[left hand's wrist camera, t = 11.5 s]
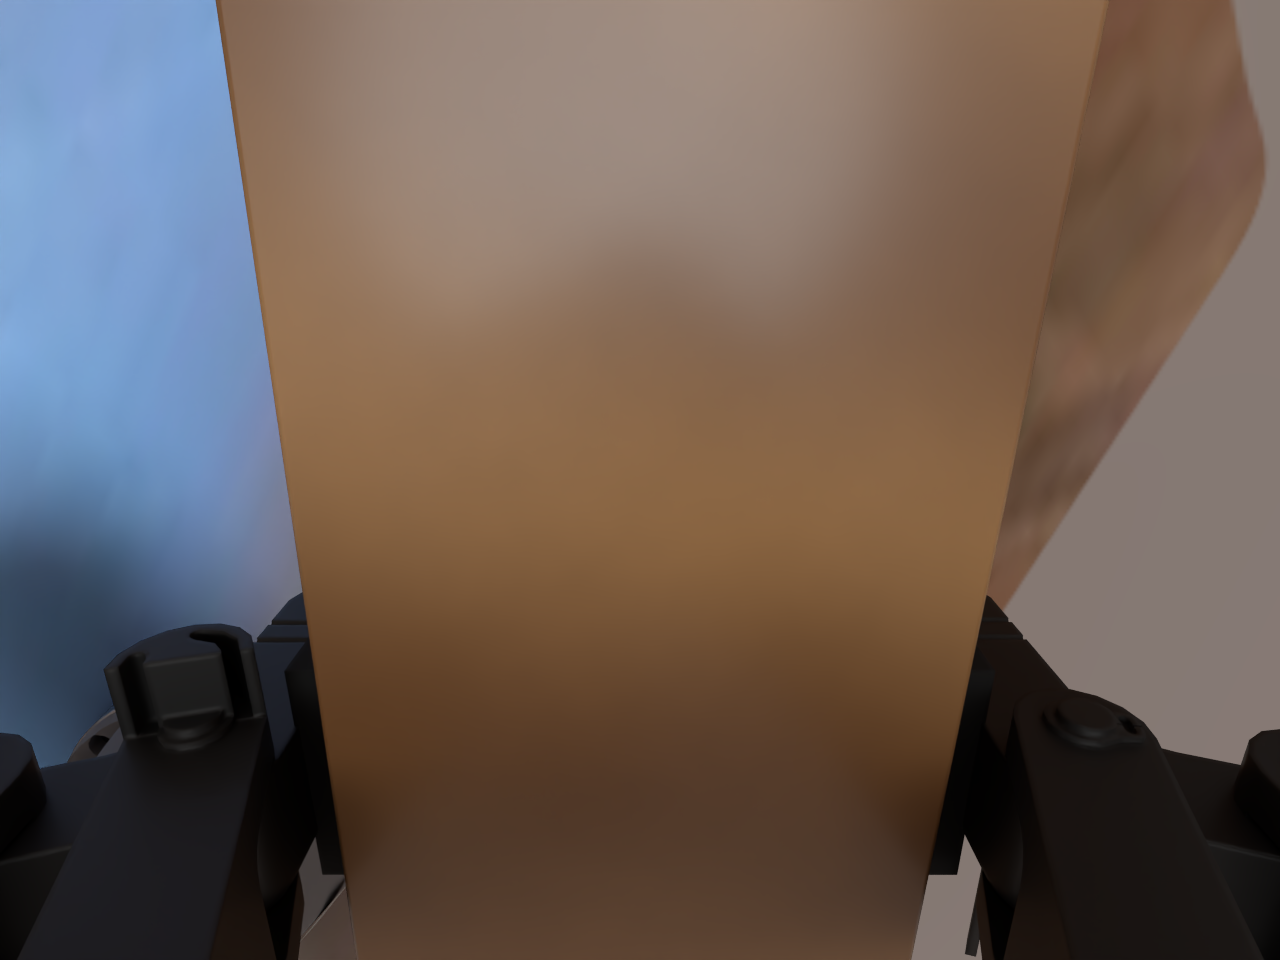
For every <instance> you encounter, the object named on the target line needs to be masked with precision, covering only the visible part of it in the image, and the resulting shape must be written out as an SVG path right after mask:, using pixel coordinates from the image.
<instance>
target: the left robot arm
mask: <svg viewBox="0 0 1280 960" xmlns="http://www.w3.org/2000/svg"><path fill="white" fill-rule="evenodd" d="M104 673H105V676H106V680H107V683H108V687H109V690H110V694H111V698H112V701H113V706H112V707H111V708H110V709H109V710H108V711H107V712H106V713H105V714H104V715H103V716H102V717H101V718H100V719H99V720H98V721H97V722H96V723H95V724H94V725H93V726H92V727H91V728H90V729H89V730H88V731H87V732H86V733H85V734H84V736H83V737H82V738H81V739H80V741H79V742H78V744H77V745H76V747H75V748H74V750H73V753H72V754H71V756H70V758H69V760H68V762H67V763H65V764H60V765H55V766H50V767H45V768H39V765H38V762H37V759H36V756H35V753H34V750H33V747H32V745H31V743H30V742H28V741H27V740H25V739H24V738H23V737H21V736H20V735H15V734H6V733H0V960H298V955H299V947H300V938H301V935H302V934H303V933H304V932H305V931H306V930H307V929H308V928H309V927H310V926H311V924H312V923H313V922H314V921H315V920H316V919H317V918H318V917H319V916H320V914H321V913H322V912H323V911H324V910H325V909H326V908H327V907H328V908H327V909H326V910H325V911H324V912H323V914H322V915H321V916H320V917H319V919H318V920H317V921H316V922H315V924H314V925H313V926H312V927H311V929H312V928H313V927H314V926H315V925H316V923H317V922H318V921H319V920H320V919H321V917H322V916H323V915H324V914H325V912H326V911H327V910H328V909H329V907H330V906H331V905H332V904H333V902H334V901H335V900H336V899H337V898H338V896H339V895H340V894H341V893H342V891H343V890H344V889H345V888H346V887H345V886H346V884H345V877H344V870H343V863H342V857H341V850H340V843H339V836H338V829H337V822H336V816H335V809H334V802H333V795H332V788H331V782H330V775H329V768H328V761H327V754H326V748H325V741H324V734H323V727H322V720H321V714H320V707H319V700H318V693H317V686H316V680H315V673H314V666H313V659H312V652H311V646H310V639H309V632H308V625H307V618H306V612H305V605H304V598H303V592H302V593H300V594H299V595H297V596H296V597H294V598H292V599H291V600H289V601H288V602H287V603H286V605H285V606H284V607H283V608H282V609H281V611H280V612H279V613H278V614H277V615H276V616H275V618H274V619H273V620H272V625H268V626H267V627H266V628H265V629H264V631H263V632H262V633H261V634H260V635H259V637H258V638H257V642H253V641H252V636H251V635H250V634H248V633H247V632H246V631H244V630H243V629H241V628H240V627H235V626H230V625H225V624H202V625H192V626H187V627H183V628H178V629H173V630H169V631H165V632H163V633H160V634H158V635H155V636H152V637H150V638H147V639H144V640H142V641H140V642H138V643H136V644H135V645H133V646H131V647H130V648H128V649H126V650H125V651H123V652H121V653H120V654H118V655H117V656H116V657H115V658H114V659H113V660H112V661H111V662H110V663H109V664H108V665H107V666H106V668H105V669H104ZM964 835H965V836H966V838H967V840H968V842H969V844H970V846H971V848H972V850H973V852H974V854H975V856H976V858H977V860H978V862H979V864H980V866H981V873H980V878H979V883H978V888H977V893H976V898H975V903H974V908H973V913H972V918H971V923H970V928H969V933H968V938H967V944H966V951H965V954H967V955H971V956H976V954H977V949H978V944H979V940H980V945H981V953H982V960H1280V729H1278V730H1269V731H1261V732H1260V733H1258V734H1257V735H1256V736H1254V737H1253V738H1251V739H1250V740H1249V742H1248V745H1247V749H1246V751H1245V754H1244V757H1243V760H1242V763H1241V765H1238V764H1233V763H1227V762H1223V761H1218V760H1213V759H1208V758H1203V757H1198V756H1192V755H1187V754H1182V753H1178V752H1174V751H1170V750H1166V749H1162V748H1161V746H1160V744H1159V742H1158V740H1157V738H1156V737H1155V736H1154V735H1153V733H1152V732H1151V731H1150V730H1149V728H1148V727H1147V726H1146V724H1145V723H1144V722H1143V721H1141V720H1140V719H1138V718H1137V717H1135V716H1134V715H1133V714H1131V713H1130V712H1128V711H1127V710H1126V709H1124V708H1123V707H1121V706H1118V705H1116V704H1114V703H1112V702H1109V701H1107V700H1105V699H1103V698H1100V697H1098V696H1095V695H1091V694H1087V693H1083V692H1079V691H1075V690H1071V689H1068V688H1067V686H1066V685H1065V684H1064V683H1063V682H1062V681H1061V679H1060V678H1059V677H1058V676H1057V675H1056V674H1055V672H1054V671H1053V670H1052V669H1051V668H1050V667H1049V665H1048V664H1047V663H1046V662H1045V661H1044V659H1043V658H1042V657H1041V656H1040V655H1039V654H1038V652H1037V651H1036V650H1035V649H1034V648H1033V647H1032V645H1031V644H1030V643H1029V642H1028V641H1027V640H1023V635H1022V634H1021V632H1020V631H1019V630H1018V629H1017V628H1016V627H1015V625H1014V624H1013V623H1012V622H1008V617H1007V616H1006V615H1005V614H1004V613H1003V611H1002V610H1001V609H1000V608H999V607H998V605H997V604H996V603H995V602H994V601H993V600H992V598H991V597H989V596H987V595H986V600H985V604H984V609H983V614H982V619H981V624H980V629H979V634H978V638H977V643H976V648H975V653H974V658H973V663H972V667H971V672H970V677H969V682H968V687H967V692H966V696H965V701H964V706H963V711H962V716H961V721H960V725H959V730H958V735H957V740H956V745H955V750H954V755H953V759H952V764H951V769H950V774H949V779H948V784H947V788H946V793H945V798H944V803H943V808H942V813H941V817H940V822H939V827H938V832H937V837H936V842H935V847H934V851H933V856H932V861H931V866H930V871H929V875H957V872H958V867H959V862H960V856H961V851H962V846H963V840H964ZM344 887H345V888H344ZM343 888H344V889H343ZM337 895H338V896H337ZM331 902H332V903H331ZM330 903H331V904H330ZM329 904H330V905H329ZM328 905H329V906H328ZM311 929H310V930H311ZM310 930H309V931H310ZM309 931H308V932H309ZM308 932H307V933H306V935H307V934H308ZM306 935H305V936H306ZM305 936H304V937H305ZM304 937H303V938H304ZM303 938H302V939H303Z"/></svg>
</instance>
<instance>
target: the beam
mask: <svg viewBox="0 0 1280 960" xmlns="http://www.w3.org/2000/svg"><path fill="white" fill-rule="evenodd" d="M1108 4H1109V0H216V6H217V13H218V20H219V26H220V33H221V40H222V47H223V54H224V60H225V67H226V74H227V81H228V88H229V94H230V101H231V108H232V115H233V122H234V128H235V135H236V142H237V149H238V156H239V162H240V169H241V176H242V183H243V190H244V196H245V203H246V210H247V217H248V224H249V230H250V237H251V244H252V251H253V258H254V265H255V271H256V278H257V285H258V292H259V299H260V305H261V312H262V319H263V326H264V333H265V339H266V346H267V353H268V360H269V367H270V373H271V380H272V387H273V394H274V401H275V407H276V414H277V421H278V428H279V435H280V441H281V448H282V455H283V462H284V469H285V475H286V482H287V489H288V496H289V503H290V509H291V516H292V523H293V530H294V537H295V543H296V550H297V557H298V564H299V571H300V578H301V584H302V591H303V598H304V605H305V612H306V618H307V625H308V632H309V639H310V646H311V652H312V659H313V666H314V673H315V680H316V686H317V693H318V700H319V707H320V714H321V720H322V727H323V734H324V741H325V748H326V754H327V761H328V768H329V775H330V782H331V788H332V795H333V802H334V809H335V816H336V822H337V829H338V836H339V843H340V850H341V857H342V863H343V870H344V877H345V884H346V891H347V897H348V904H349V911H350V918H351V925H352V931H353V938H354V945H355V952H356V959H357V960H911V958H912V953H913V948H914V943H915V938H916V934H917V929H918V924H919V919H920V914H921V909H922V905H923V900H924V895H925V890H926V885H927V880H928V875H929V871H930V866H931V861H932V856H933V851H934V847H935V842H936V837H937V832H938V827H939V822H940V817H941V813H942V808H943V803H944V798H945V793H946V788H947V784H948V779H949V774H950V769H951V764H952V759H953V755H954V750H955V745H956V740H957V735H958V730H959V725H960V721H961V716H962V711H963V706H964V701H965V696H966V692H967V687H968V682H969V677H970V672H971V667H972V663H973V658H974V653H975V648H976V643H977V638H978V634H979V629H980V624H981V619H982V614H983V609H984V604H985V600H986V595H987V590H988V585H989V580H990V575H991V571H992V566H993V561H994V556H995V551H996V546H997V542H998V537H999V532H1000V527H1001V522H1002V517H1003V513H1004V508H1005V503H1006V498H1007V493H1008V488H1009V483H1010V479H1011V474H1012V469H1013V464H1014V459H1015V454H1016V450H1017V445H1018V440H1019V435H1020V430H1021V425H1022V421H1023V416H1024V411H1025V406H1026V401H1027V396H1028V392H1029V387H1030V382H1031V377H1032V372H1033V367H1034V362H1035V358H1036V353H1037V348H1038V343H1039V338H1040V333H1041V329H1042V324H1043V319H1044V314H1045V309H1046V304H1047V300H1048V295H1049V290H1050V285H1051V280H1052V275H1053V271H1054V266H1055V261H1056V256H1057V251H1058V246H1059V241H1060V237H1061V232H1062V227H1063V222H1064V217H1065V212H1066V208H1067V203H1068V198H1069V193H1070V188H1071V183H1072V179H1073V174H1074V169H1075V164H1076V159H1077V154H1078V150H1079V145H1080V140H1081V135H1082V130H1083V125H1084V120H1085V116H1086V111H1087V106H1088V101H1089V96H1090V91H1091V87H1092V82H1093V77H1094V72H1095V67H1096V62H1097V58H1098V53H1099V48H1100V43H1101V38H1102V33H1103V29H1104V24H1105V19H1106V14H1107V9H1108Z"/></svg>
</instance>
